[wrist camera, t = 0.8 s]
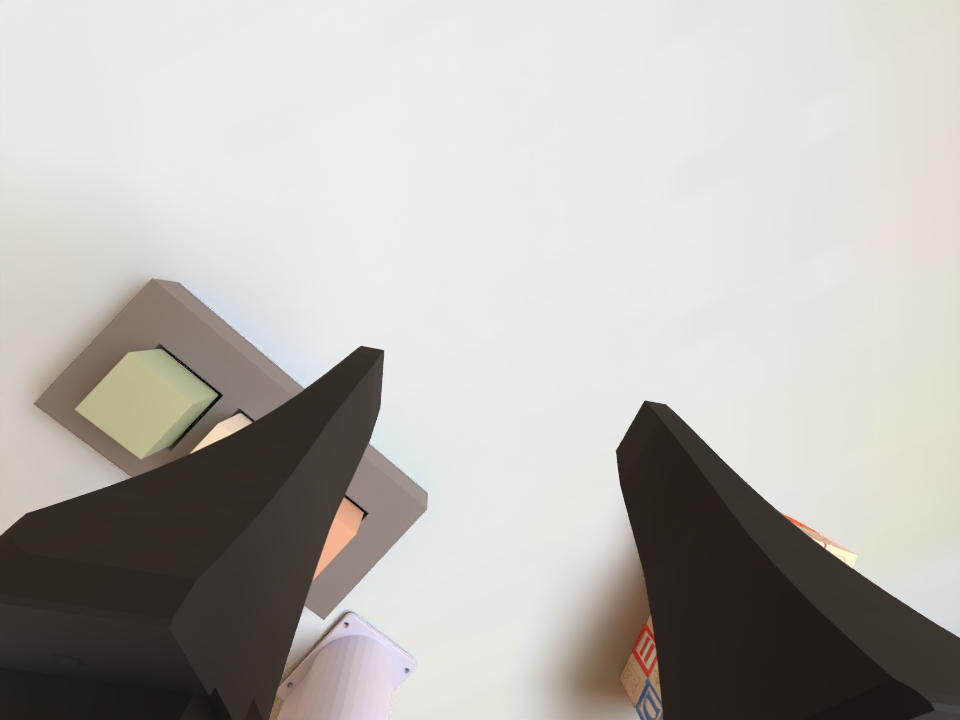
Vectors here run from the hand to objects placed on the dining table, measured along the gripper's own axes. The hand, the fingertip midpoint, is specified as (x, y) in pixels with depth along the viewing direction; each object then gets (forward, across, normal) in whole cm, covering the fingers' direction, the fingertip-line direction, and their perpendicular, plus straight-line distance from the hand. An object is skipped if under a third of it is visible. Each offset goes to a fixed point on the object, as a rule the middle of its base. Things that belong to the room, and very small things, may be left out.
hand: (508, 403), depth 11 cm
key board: (+14, +16, +21) cm, 30 cm away
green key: (+13, +22, +16) cm, 30 cm away
